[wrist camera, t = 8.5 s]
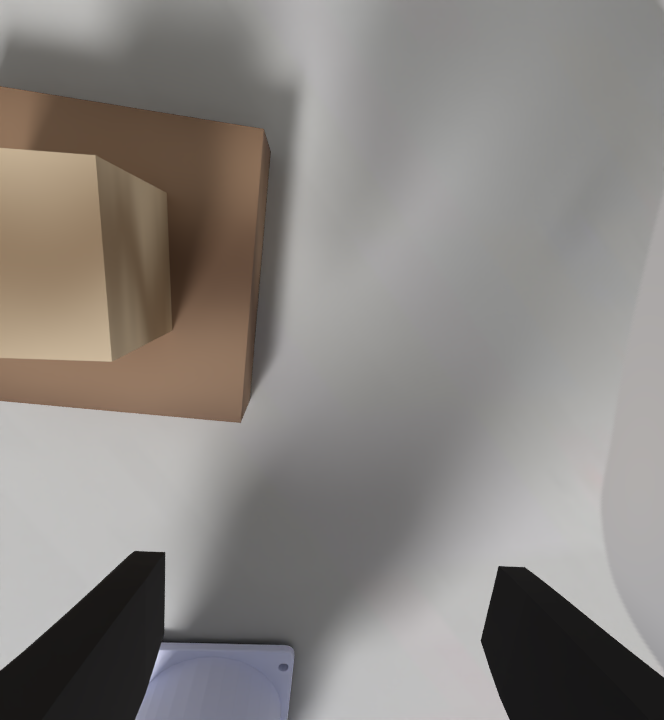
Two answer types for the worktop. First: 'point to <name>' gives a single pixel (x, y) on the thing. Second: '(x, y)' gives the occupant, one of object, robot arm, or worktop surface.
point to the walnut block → (186, 255)
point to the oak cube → (80, 258)
